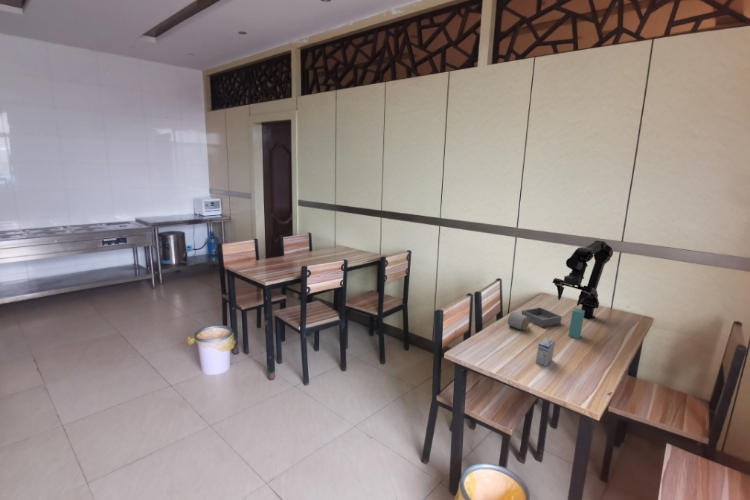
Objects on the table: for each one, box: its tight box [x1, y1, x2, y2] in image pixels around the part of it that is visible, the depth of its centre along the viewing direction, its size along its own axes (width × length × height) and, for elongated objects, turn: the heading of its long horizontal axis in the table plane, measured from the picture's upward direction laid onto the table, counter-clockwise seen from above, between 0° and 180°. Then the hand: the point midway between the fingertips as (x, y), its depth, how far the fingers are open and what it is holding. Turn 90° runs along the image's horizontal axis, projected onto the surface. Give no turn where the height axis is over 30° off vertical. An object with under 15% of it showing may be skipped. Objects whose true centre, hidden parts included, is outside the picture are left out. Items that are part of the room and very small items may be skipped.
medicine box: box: [535, 337, 556, 367], centre depth 162 cm, size 8×4×9 cm, turn 141°
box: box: [521, 306, 563, 328], centre depth 206 cm, size 14×14×4 cm
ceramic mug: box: [507, 310, 530, 331], centre depth 196 cm, size 11×8×8 cm
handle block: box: [568, 307, 585, 340], centre depth 187 cm, size 4×4×13 cm
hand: (568, 302), depth 196 cm, fingers open, 9 cm apart
